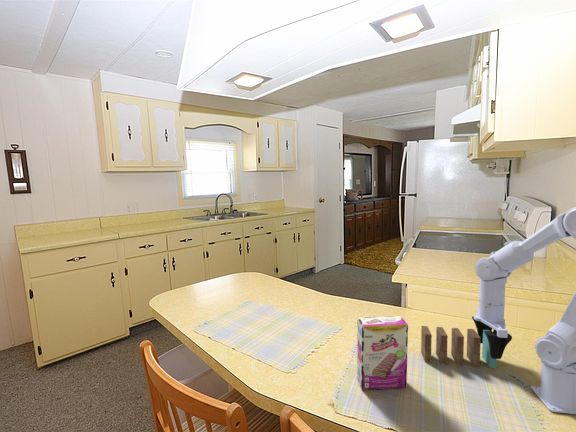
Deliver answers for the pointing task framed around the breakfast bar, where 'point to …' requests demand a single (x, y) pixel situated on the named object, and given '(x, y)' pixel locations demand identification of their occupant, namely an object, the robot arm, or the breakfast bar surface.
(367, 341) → the candy bar box
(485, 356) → the teal domino
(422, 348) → the walnut domino
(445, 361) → the walnut domino
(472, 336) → the walnut domino
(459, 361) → the walnut domino
